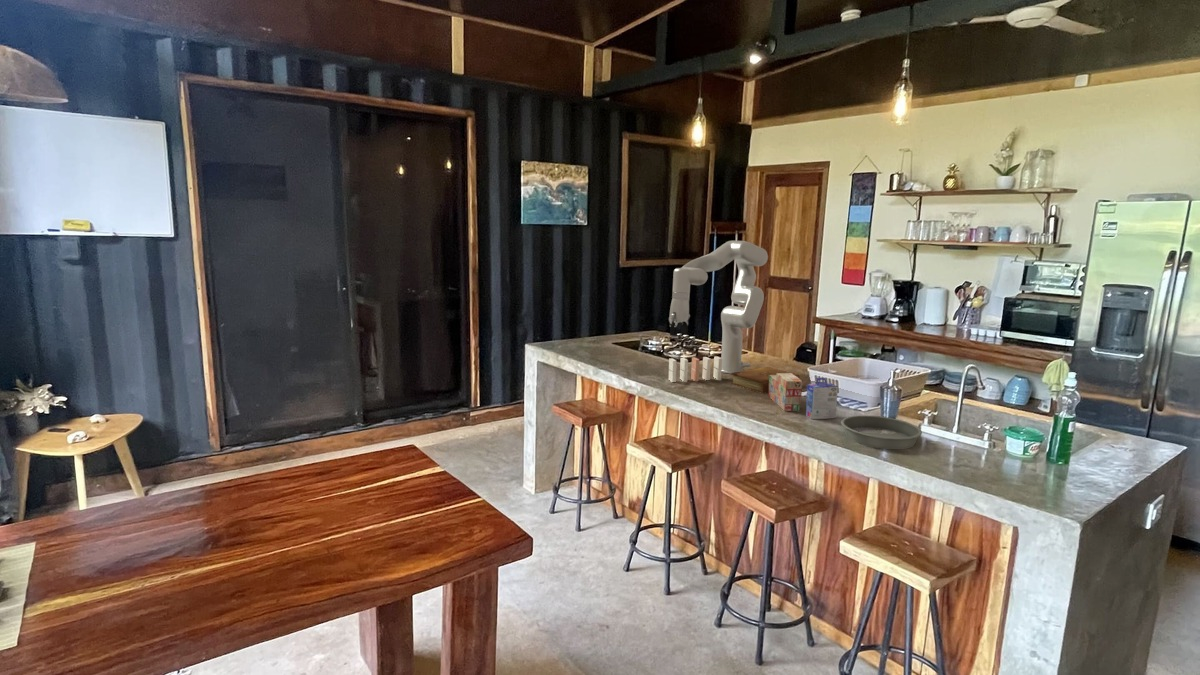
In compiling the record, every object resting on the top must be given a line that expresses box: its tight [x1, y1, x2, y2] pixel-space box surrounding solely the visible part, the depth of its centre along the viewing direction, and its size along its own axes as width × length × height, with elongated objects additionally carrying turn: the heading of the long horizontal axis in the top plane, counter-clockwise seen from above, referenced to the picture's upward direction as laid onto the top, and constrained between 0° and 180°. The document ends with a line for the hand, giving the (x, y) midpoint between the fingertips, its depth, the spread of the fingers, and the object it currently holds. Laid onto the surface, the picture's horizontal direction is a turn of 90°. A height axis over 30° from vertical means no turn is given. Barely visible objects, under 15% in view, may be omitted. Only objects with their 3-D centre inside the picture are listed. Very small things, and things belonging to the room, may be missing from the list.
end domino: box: [713, 356, 723, 381], centre depth 287 cm, size 2×5×10 cm, turn 14°
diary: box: [730, 366, 801, 394], centre depth 278 cm, size 23×19×6 cm
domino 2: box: [701, 356, 712, 381], centre depth 286 cm, size 2×5×10 cm, turn 14°
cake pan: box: [840, 415, 923, 450], centre depth 210 cm, size 25×25×4 cm
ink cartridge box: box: [805, 377, 839, 420], centre depth 231 cm, size 10×6×14 cm, turn 99°
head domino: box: [668, 358, 677, 383], centre depth 282 cm, size 2×5×10 cm, turn 14°
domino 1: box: [679, 357, 689, 383], centre depth 283 cm, size 2×5×10 cm, turn 14°
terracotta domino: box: [690, 356, 700, 382], centre depth 285 cm, size 2×5×10 cm, turn 13°
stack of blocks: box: [767, 372, 803, 412], centre depth 248 cm, size 21×6×12 cm, turn 2°
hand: (678, 334), depth 279 cm, fingers open, 9 cm apart
